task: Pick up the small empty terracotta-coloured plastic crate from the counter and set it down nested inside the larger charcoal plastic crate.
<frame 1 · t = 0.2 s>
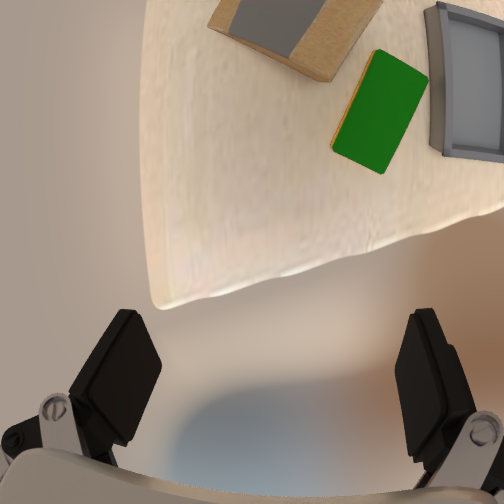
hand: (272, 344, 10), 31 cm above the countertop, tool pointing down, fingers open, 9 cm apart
big crate: (468, 83, 28), on the countertop
dish sponge: (377, 110, 33), on the countertop
sandwich container: (278, 24, 29), on the countertop
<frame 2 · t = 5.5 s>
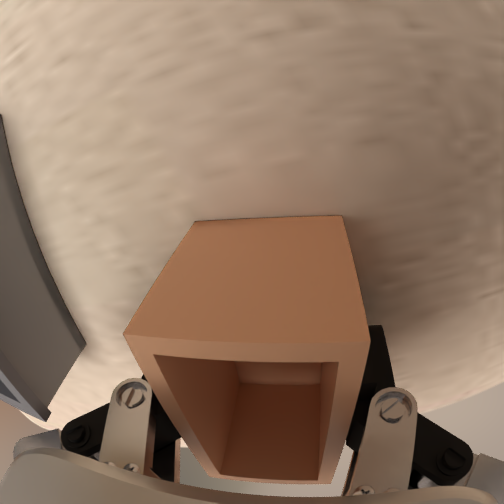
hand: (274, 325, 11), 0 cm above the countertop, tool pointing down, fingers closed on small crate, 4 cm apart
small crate: (275, 318, 11), on the countertop, touching gripper
when the fingers open (3 cm above the countertop, at t = 11.2 s): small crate drops 2 cm, resting on big crate.
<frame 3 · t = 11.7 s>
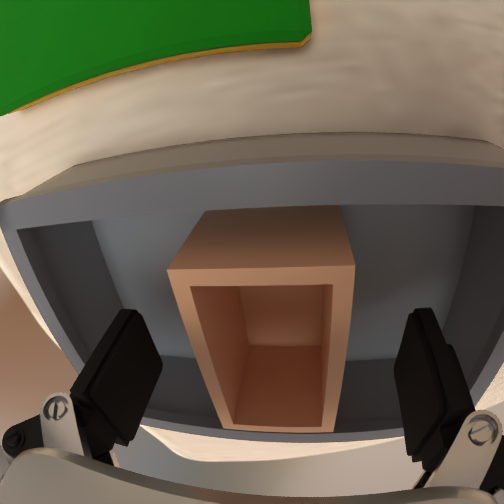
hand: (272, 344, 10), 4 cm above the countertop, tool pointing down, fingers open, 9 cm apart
big crate: (280, 272, 14), on the countertop
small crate: (281, 282, 13), point 1 cm above the countertop, touching big crate
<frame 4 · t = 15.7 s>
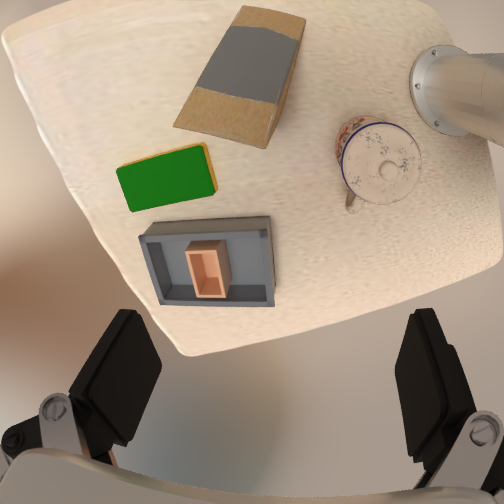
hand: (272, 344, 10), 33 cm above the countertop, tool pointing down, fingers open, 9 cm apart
big crate: (214, 254, 49), on the countertop
teacup with lid: (362, 157, 38), on the countertop
dish sponge: (168, 175, 44), on the countertop
sandwich container: (260, 63, 34), on the countertop
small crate: (214, 256, 48), point 1 cm above the countertop, touching big crate
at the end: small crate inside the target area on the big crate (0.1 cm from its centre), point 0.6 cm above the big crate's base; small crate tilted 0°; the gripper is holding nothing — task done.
